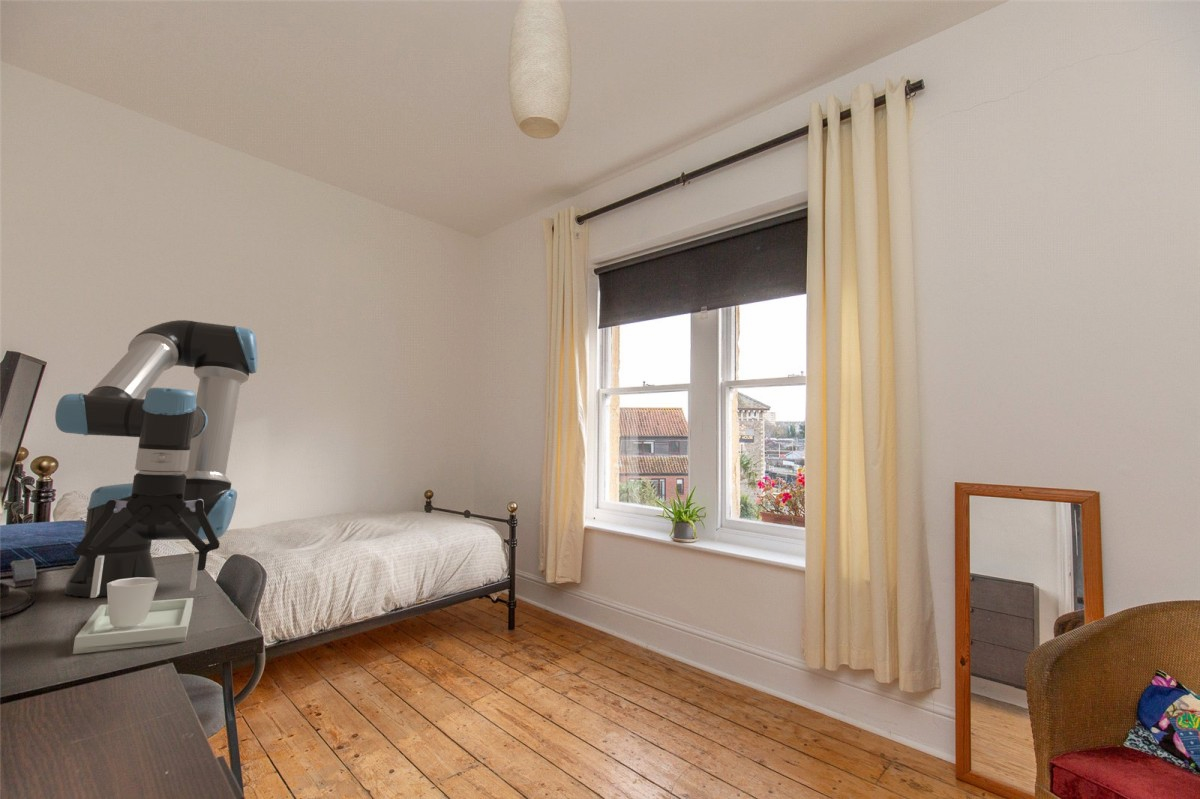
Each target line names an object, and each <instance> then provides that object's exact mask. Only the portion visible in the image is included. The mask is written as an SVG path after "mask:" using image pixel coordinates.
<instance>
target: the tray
mask: <svg viewBox="0 0 1200 799" xmlns="http://www.w3.org/2000/svg"><path fill="white" fill-rule="evenodd" d="M193 604H194V597H188V598H186V597H185V598H175V599H162V600H153V601H152V604H151V607H150V610H149V612H148V614H147V617H146V619H145V621H144V622H142V623H140V624H141V625H143V628H142V629H138V630H127V631H117V632H111V631H110V629H111V628H113V627H114V626H112V625H111V624H110V619H109V614H108V604H100V605H99V606H98V607H97V608H96V610H95V611H94V612H93V614H92V615H91V616H90V618H88V620H87V622H86V623H85V624H84V625H83V627H82V628H81V629H80V631H79V632H78V633H77V634H76V635H75V637H74V642H73V648H72V655H77V654H86V653H93V652H105V651H113V650H122V649H129V648H131V649H132V648H141V647H147V646H157V645H159V646H160V645H167V644H168V645H169V644H175V643H184V642H186V639H187V635H188V630H189V626H190V621H191V617H192V612H193Z"/></svg>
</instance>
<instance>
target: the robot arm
mask: <svg viewBox="0 0 1200 799" xmlns="http://www.w3.org/2000/svg"><path fill="white" fill-rule="evenodd" d="M256 337H257V336H256V334H255V332H254V331H253V330H252V329H250V328H245V327H240V326H236V325H233V326H232V325H227V324H218V323H209V322H202V321H194V320H187V319H186V320H185V319H183V320H182V319H181V320H178V319H177V320H171V321H166V322H161V323H159V324H156V325H153V326H150V327H147V328H146V329H144V330H142V331H141V332H139V333H137V335H135V337H133V338H132V339H131V340H130V342H129V344H128V347H127V353H126V354H125V355H123V357H122V358H120V360H119V361H118V362H117V363H116V364H115V365H114V366H113V367H112V368H111V370H109V371H108V373H107V374H105V376H104V377H103V378H102V379H101V380H100V381H99V382H98V384H96V385H95V386H94V387H93V388H92V390H90V391H89V393H87V394H85V393H81V392H80V393H68V394H65V395H63V396H61V398H60V399H59V400H58V402H57V405H56V408H55V415H54V416H55V418H54V419H55V425H56V427H57V429H58V430H60V432H62V433H67V434H73V435H74V434H75V435H83V436H103V437H104V436H107V437H129V438H139V439H138V447H137V453H136V459H135V468H134V470H136V471H137V473H135V475H133V479H132V480H133V481H132V483H121V484H113V485H111V484H110V485H104V486H99V487H97V488H95V489H94V490H93V491H92V492H91V493H90V494H91V495H90V499H89V504H88V507H87V508H86V510H87V512H86V518H85V526H84V534H83V538H82V540H81V541H80V542H79V544H77V546H76V547H75V548H74V550H73V554H74V555H76V556H79V559H78V560H77V562H76V563H75V565H74V567H73V569H72V571H71V572H70V575H69V576H68V578H67V579H66V582H65V587H64V592H65V593H66V594H69V595H68V596H70V595H73V596H72V597H78V596H81V597H82V596H83V597H82V598H87V597H88V598H90V599H93V598H97V597H108V596H107V583H109V582H112V581H115V580H119V579H127V578H136V577H146V578H155V579H157V572H156V568H155V564H154V561H153V557H152V553H151V551H152V550H151V548H152V541H161V540H162V541H165V540H166V541H170V540H171V541H172V540H178V541H180V540H182V541H183V540H185V541H186V540H188V541H189V542H190V543H191V545H192V546H194V548H195V549H196V550H197V551H194V553H193V563H192V569H191V577H190V585H189V591H195V590H196V585H197V576H198V572H199V571H204V570H205V568H206V563H207V557H208V556H207V555H208V553H209V552H211V551H213V550H218V549H219V548H220V541H219V538H221V537H223V535H225V534H226V532H227V530H228V528H229V526H230V524H231V522H232V518H233V516H234V513H235V508H236V505H237V503H236V502H237V498H238V492H237V490H235V489H233V488H232V481H230V480H229V479H228V477H227V476H226V474H227V468H228V461H229V456H230V449H231V443H232V436H233V433H234V432H233V430H234V425H235V418H236V413H237V407H238V399H239V396H240V395H239V394H240V388H241V385H242V384H244V383H246V382H248V380H249V376H250V374H251V375H252V374H256V373H257V372H258V346H257V338H256ZM174 366H179V367H188V368H189V367H190V368H193V374H194V375H195V376H196V377H197V378H198V380H199V381H198V386H197V392H196V393H195V392H194V391H193V390H188V389H182V388H181V389H179V388H172V387H171V388H170V387H153V385H154V384H155V383H156V381H157V380H158V379H159V378H160V376H161V375H162V374H163V373H164V371H168V370H170V369H172V368H173V367H174ZM204 540H207V541H208V543H205V542H204ZM65 593H64V594H65ZM66 594H65V595H66ZM81 597H80V598H81Z"/></svg>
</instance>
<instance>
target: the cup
mask: <svg viewBox="0 0 1200 799" xmlns="http://www.w3.org/2000/svg"><path fill="white" fill-rule="evenodd" d="M159 582H160V581H159V579H157V578H156V579H155V578H146V577H136V578H127V579H119V580H115V581H112V582H109V583H107V596H106V597H107V605H108V614H109V619H110V624H111V625H112V626H114V627H113V628H111V629H110V631H111V632H117V631H127V630H138V629H142V628H143V625H141V624H140V623H142V622H144V621H145V619H146V617H147V614H148V612H149V610H150V607H151V604H152V601H154V597H155V594H156V592H157V587H158V586H159Z"/></svg>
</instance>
